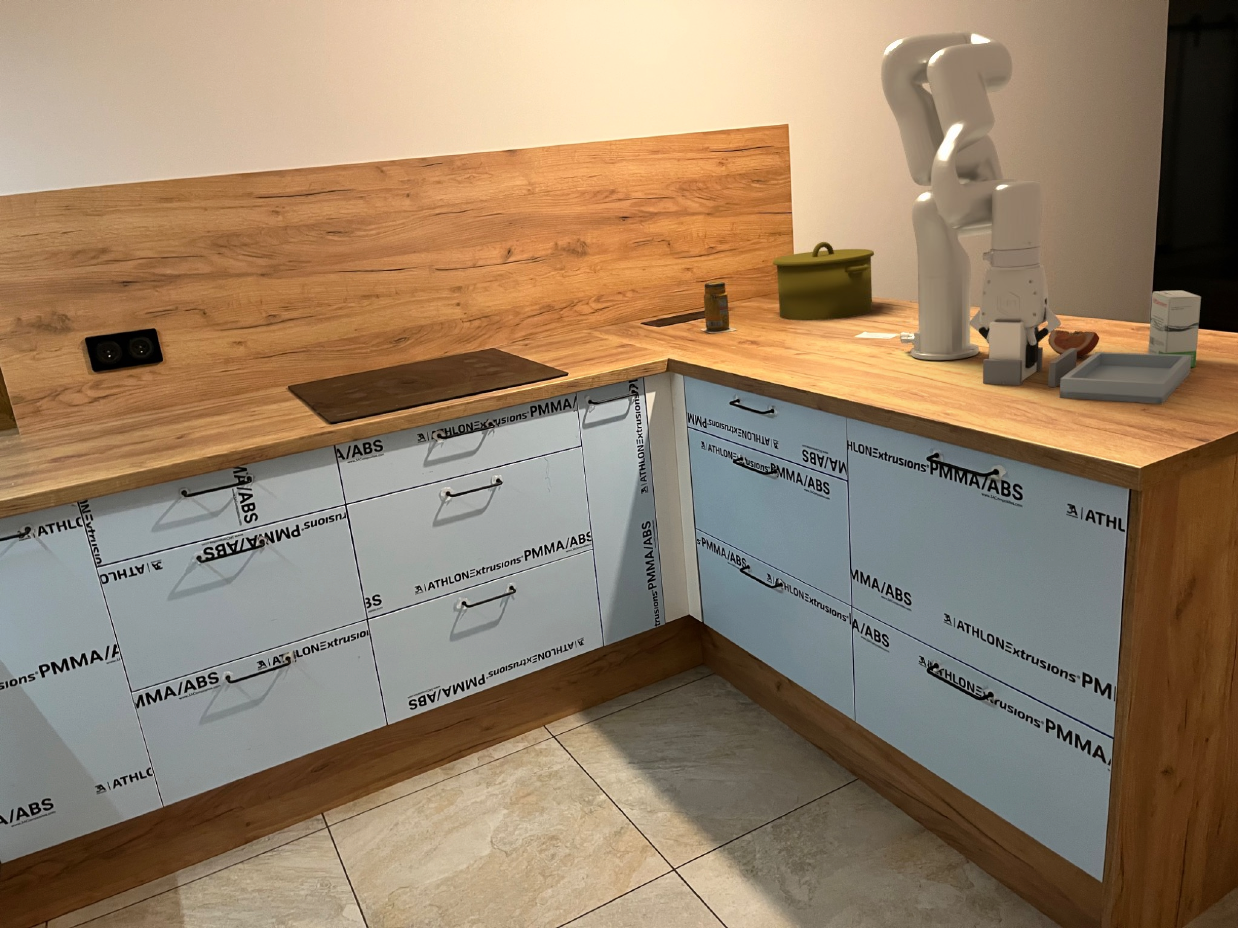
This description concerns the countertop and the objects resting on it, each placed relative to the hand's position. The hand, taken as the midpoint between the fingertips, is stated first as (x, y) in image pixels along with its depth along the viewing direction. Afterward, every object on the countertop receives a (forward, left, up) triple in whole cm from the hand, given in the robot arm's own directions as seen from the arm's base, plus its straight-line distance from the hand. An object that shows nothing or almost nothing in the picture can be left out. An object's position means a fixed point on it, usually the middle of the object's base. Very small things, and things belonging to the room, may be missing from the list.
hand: (1013, 364), depth 158 cm
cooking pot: (-68, +60, -2) cm, 91 cm away
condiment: (-84, +33, -2) cm, 90 cm away
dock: (+3, 0, -2) cm, 3 cm away
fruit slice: (+5, +17, -2) cm, 18 cm away
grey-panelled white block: (0, 0, -2) cm, 2 cm away
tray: (+18, -2, -2) cm, 18 cm away
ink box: (+21, +15, -2) cm, 26 cm away
